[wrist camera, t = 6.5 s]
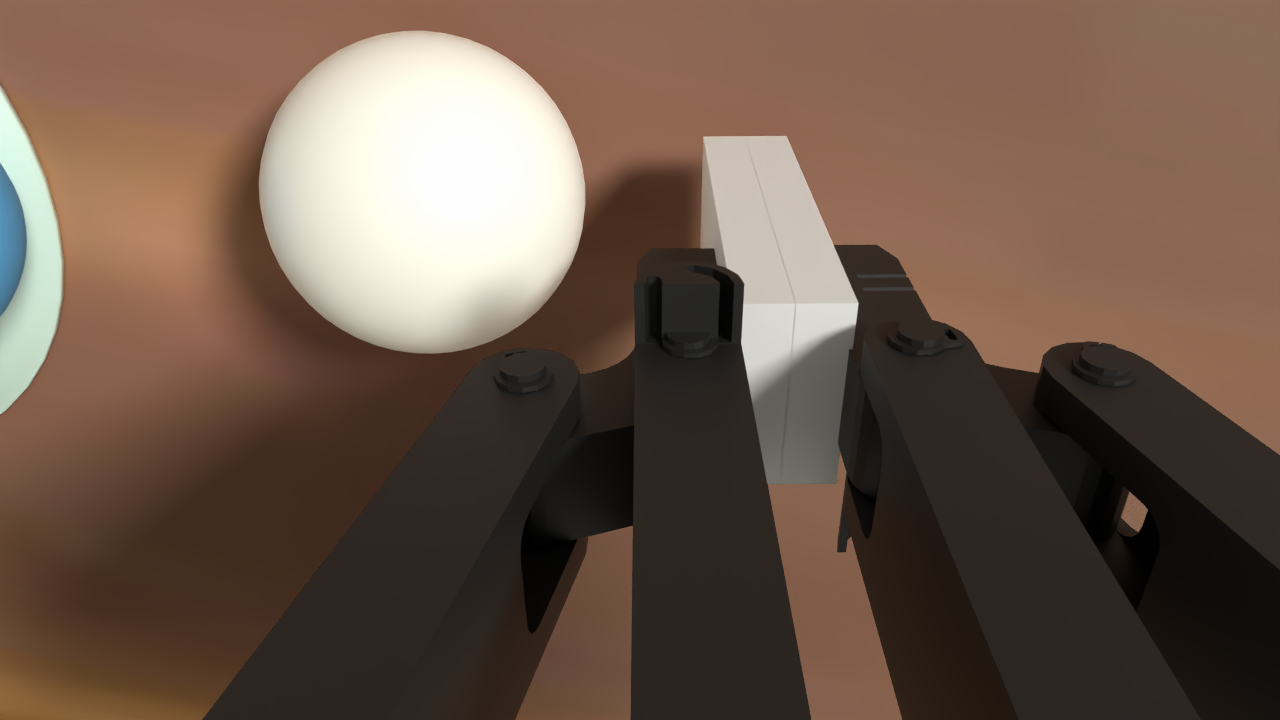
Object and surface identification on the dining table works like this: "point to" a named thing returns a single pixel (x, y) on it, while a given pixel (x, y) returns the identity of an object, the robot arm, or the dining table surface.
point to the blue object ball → (10, 240)
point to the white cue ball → (422, 192)
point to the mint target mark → (29, 264)
